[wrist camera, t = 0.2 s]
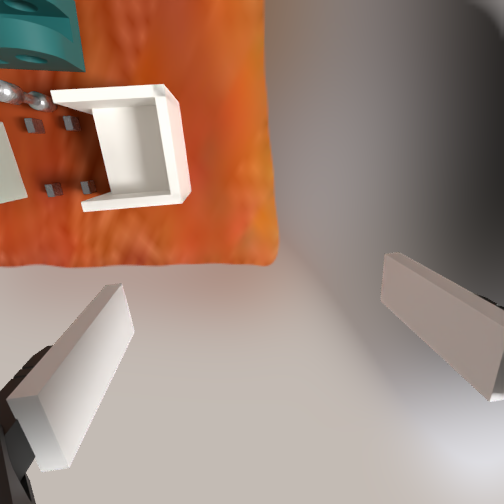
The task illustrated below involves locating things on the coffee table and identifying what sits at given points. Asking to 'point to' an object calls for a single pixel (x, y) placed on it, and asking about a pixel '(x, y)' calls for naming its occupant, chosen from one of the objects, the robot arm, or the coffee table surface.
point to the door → (9, 171)
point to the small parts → (43, 103)
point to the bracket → (40, 35)
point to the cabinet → (135, 144)
